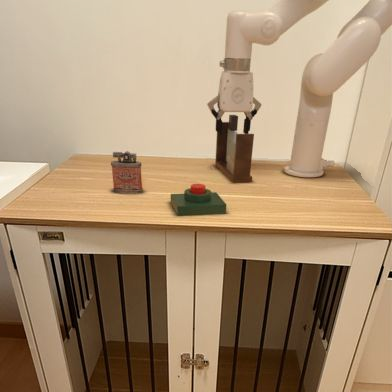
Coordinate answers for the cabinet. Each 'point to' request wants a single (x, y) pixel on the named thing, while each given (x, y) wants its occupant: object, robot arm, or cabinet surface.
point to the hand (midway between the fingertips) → (232, 133)
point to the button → (198, 188)
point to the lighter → (126, 173)
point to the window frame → (234, 155)
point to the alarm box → (197, 203)
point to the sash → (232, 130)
